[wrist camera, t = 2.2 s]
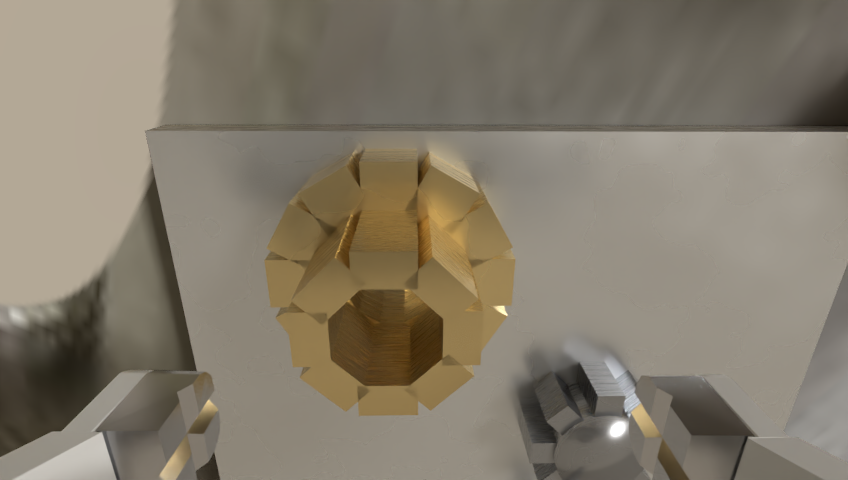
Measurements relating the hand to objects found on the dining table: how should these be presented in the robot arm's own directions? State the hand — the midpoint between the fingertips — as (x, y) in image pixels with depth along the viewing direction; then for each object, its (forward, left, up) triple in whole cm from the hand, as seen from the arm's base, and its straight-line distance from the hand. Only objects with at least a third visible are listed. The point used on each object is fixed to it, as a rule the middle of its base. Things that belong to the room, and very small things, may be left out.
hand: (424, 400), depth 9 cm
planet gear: (-1, 0, -7) cm, 7 cm away
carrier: (+3, -6, -8) cm, 10 cm away
